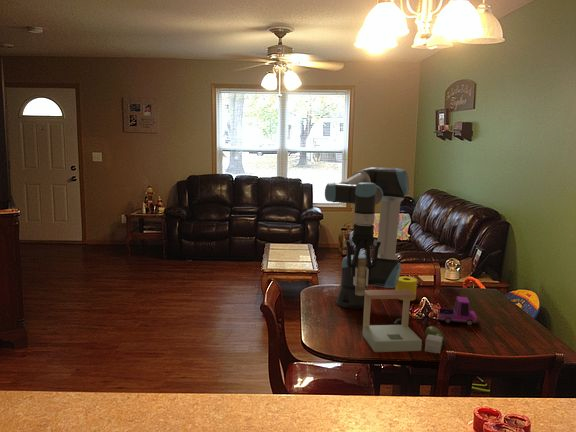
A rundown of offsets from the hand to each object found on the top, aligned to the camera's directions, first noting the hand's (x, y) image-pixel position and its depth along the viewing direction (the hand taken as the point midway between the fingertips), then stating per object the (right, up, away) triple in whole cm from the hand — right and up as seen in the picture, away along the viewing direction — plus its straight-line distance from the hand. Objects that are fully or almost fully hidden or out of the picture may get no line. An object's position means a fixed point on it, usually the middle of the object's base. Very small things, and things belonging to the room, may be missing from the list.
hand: (360, 284), depth 197 cm
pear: (+30, -23, +6) cm, 39 cm away
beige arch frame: (+12, -18, +8) cm, 23 cm away
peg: (0, -4, +1) cm, 4 cm away
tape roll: (+30, -14, +59) cm, 68 cm away
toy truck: (+46, -20, +30) cm, 58 cm away
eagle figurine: (+20, -21, +20) cm, 35 cm away
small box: (+27, -25, -2) cm, 37 cm away
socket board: (+12, -23, +4) cm, 26 cm away
